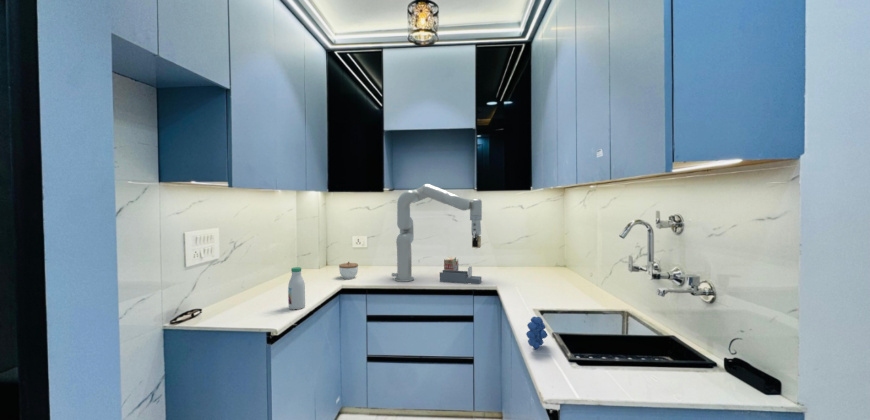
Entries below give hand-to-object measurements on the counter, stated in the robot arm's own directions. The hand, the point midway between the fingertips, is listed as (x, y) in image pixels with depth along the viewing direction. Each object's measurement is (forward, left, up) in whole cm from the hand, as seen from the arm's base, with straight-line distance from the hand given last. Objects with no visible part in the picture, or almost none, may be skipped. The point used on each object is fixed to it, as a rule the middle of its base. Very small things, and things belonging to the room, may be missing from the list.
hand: (475, 245), depth 230 cm
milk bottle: (-77, -78, -24) cm, 112 cm away
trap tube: (-9, -3, -23) cm, 25 cm away
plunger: (-7, -3, -20) cm, 21 cm away
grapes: (+38, -97, -24) cm, 107 cm away
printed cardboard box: (-20, +18, -24) cm, 36 cm away
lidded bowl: (-85, -12, -24) cm, 89 cm away
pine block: (+1, 0, -1) cm, 1 cm away
